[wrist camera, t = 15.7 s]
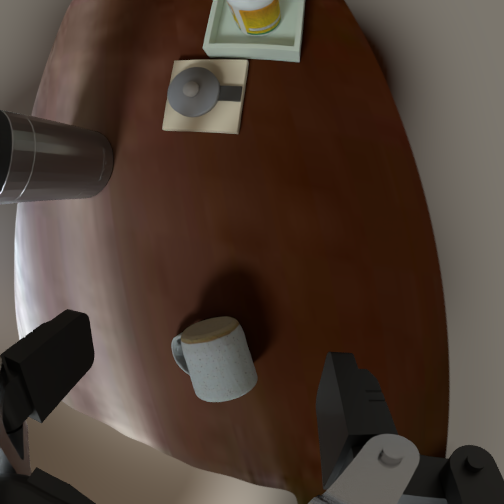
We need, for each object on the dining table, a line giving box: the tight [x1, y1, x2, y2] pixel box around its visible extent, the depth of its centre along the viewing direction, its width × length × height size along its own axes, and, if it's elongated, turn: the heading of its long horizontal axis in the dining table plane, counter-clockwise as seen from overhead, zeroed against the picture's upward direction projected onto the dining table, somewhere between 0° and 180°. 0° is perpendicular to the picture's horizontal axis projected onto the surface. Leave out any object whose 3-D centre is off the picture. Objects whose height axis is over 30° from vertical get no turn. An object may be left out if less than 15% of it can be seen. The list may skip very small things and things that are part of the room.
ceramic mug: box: [172, 316, 257, 402], centre depth 35 cm, size 11×8×8 cm
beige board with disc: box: [162, 59, 249, 134], centre depth 32 cm, size 9×9×3 cm
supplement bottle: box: [226, 0, 281, 36], centre depth 25 cm, size 5×5×10 cm
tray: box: [203, 0, 305, 62], centre depth 29 cm, size 11×11×3 cm
